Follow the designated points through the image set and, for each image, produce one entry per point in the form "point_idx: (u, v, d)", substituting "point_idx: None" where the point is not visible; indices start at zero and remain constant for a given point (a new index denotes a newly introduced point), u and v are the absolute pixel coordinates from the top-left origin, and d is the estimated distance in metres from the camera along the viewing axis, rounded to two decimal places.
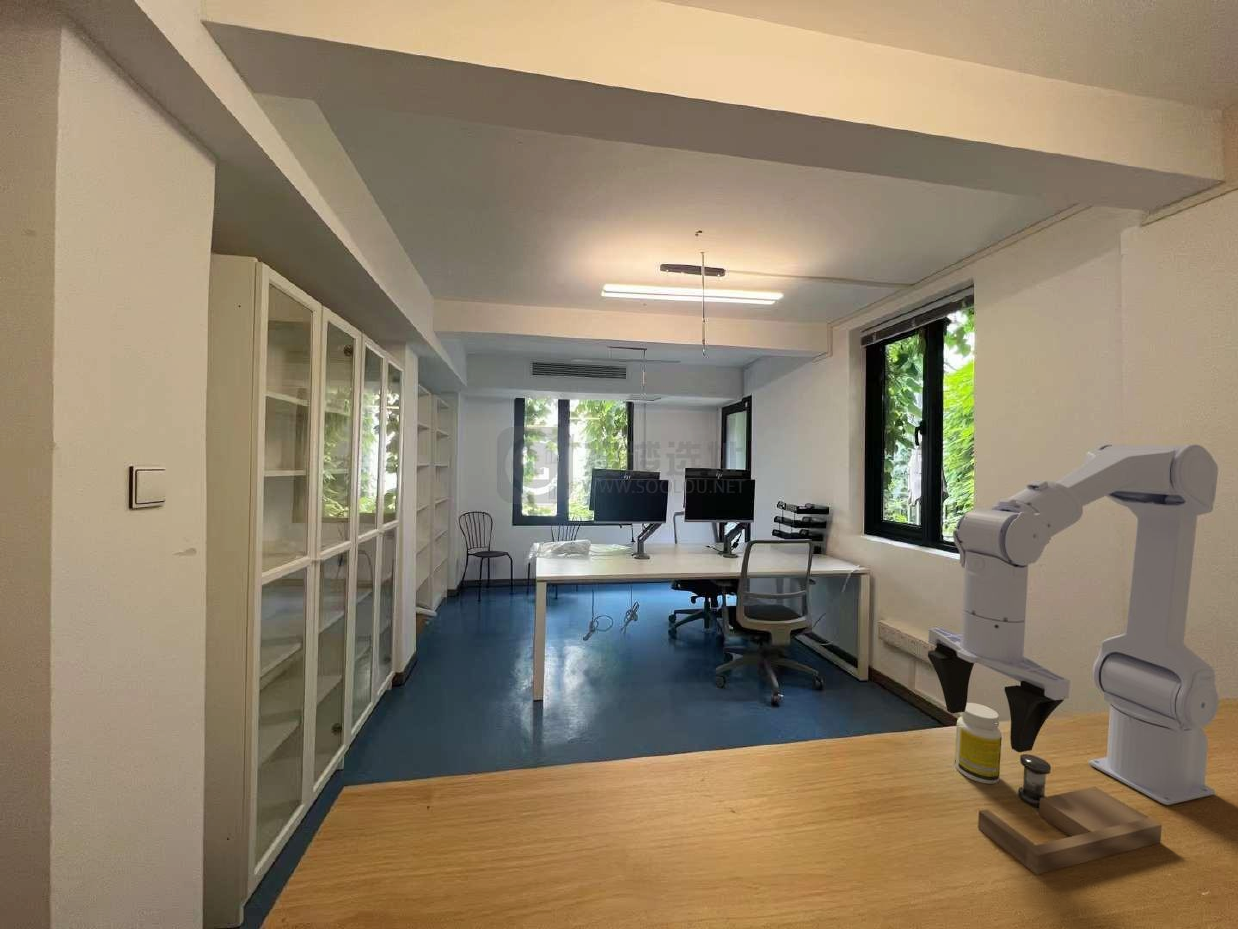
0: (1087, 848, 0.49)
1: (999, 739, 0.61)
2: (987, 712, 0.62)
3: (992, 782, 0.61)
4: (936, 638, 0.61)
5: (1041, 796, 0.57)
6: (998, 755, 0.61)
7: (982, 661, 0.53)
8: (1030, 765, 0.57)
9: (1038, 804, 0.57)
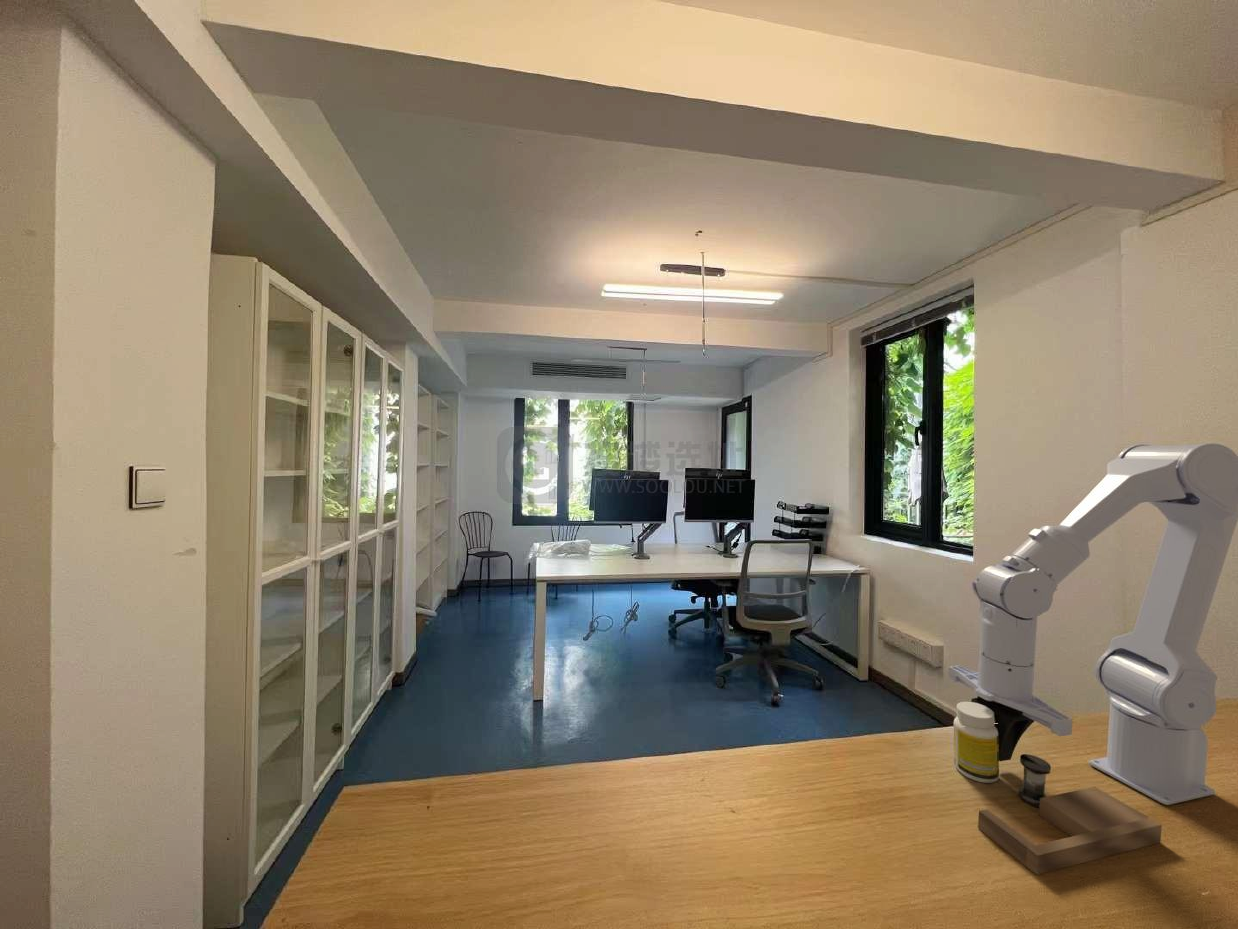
0: (1087, 848, 0.49)
1: (996, 738, 0.61)
2: (982, 711, 0.62)
3: (992, 781, 0.61)
4: (955, 675, 0.69)
5: (1041, 796, 0.57)
6: (996, 754, 0.61)
7: (997, 699, 0.62)
8: (1030, 765, 0.57)
9: (1038, 804, 0.57)
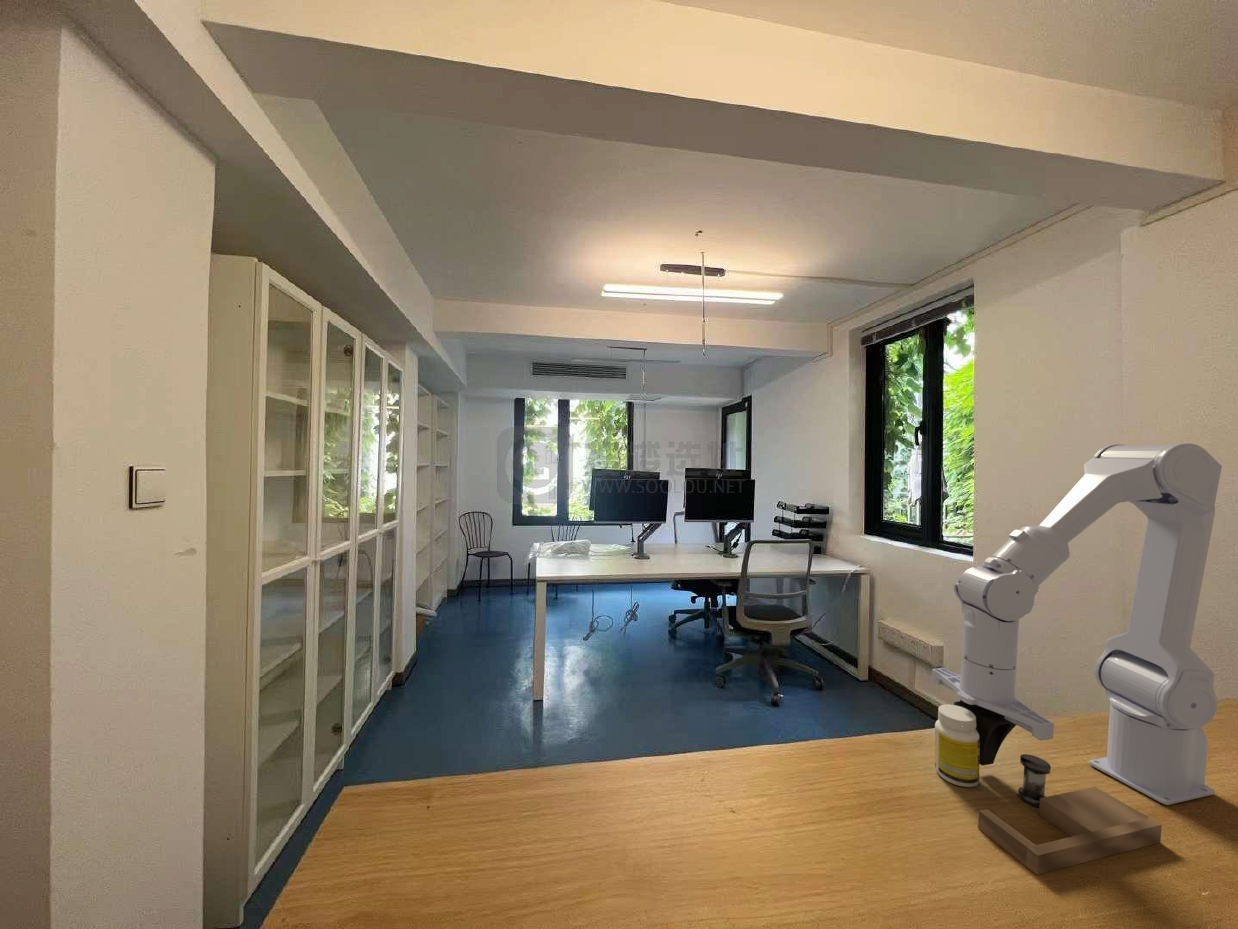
0: (1087, 848, 0.49)
1: (977, 741, 0.60)
2: (964, 714, 0.61)
3: (972, 785, 0.60)
4: (938, 678, 0.69)
5: (1041, 796, 0.57)
6: (977, 757, 0.60)
7: (978, 703, 0.61)
8: (1030, 765, 0.57)
9: (1038, 804, 0.57)
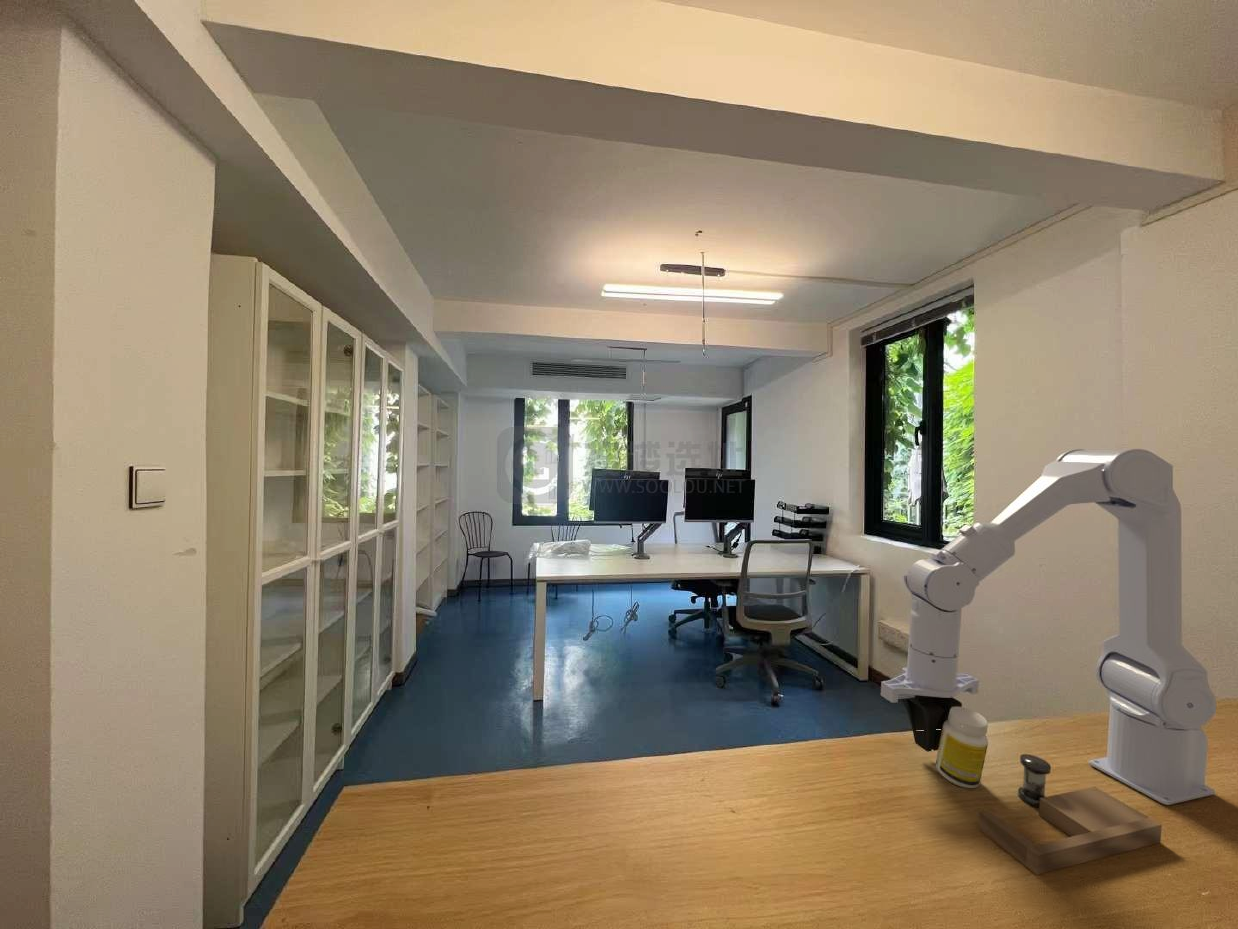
0: (1087, 848, 0.49)
1: (986, 747, 0.59)
2: (976, 719, 0.60)
3: (972, 787, 0.60)
4: None
5: (1041, 796, 0.57)
6: (982, 762, 0.59)
7: None
8: (1030, 765, 0.57)
9: (1038, 804, 0.57)
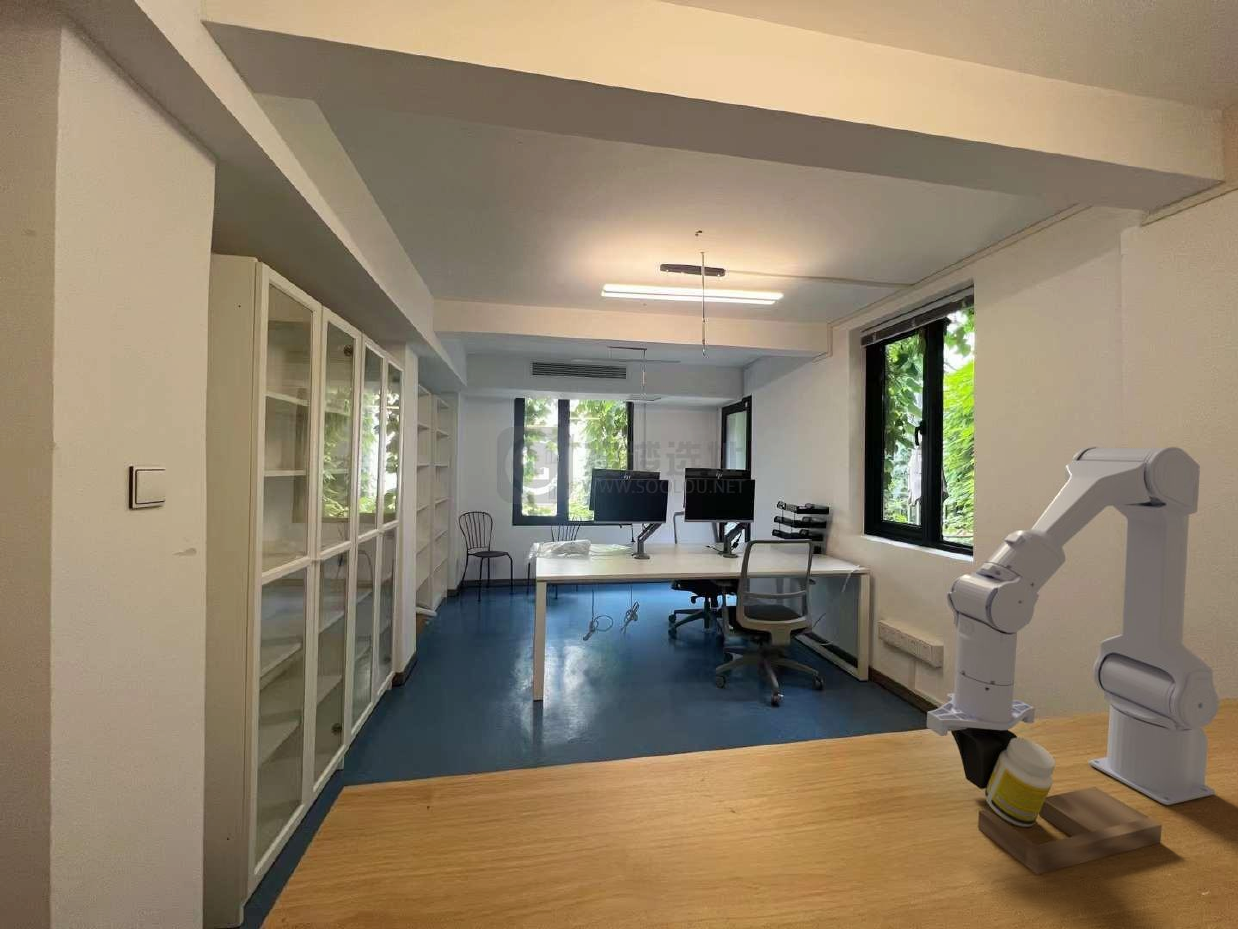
0: (1087, 848, 0.49)
1: (1050, 787, 0.52)
2: (1041, 756, 0.53)
3: (1028, 825, 0.54)
4: None
5: None
6: (1043, 801, 0.53)
7: None
8: None
9: None
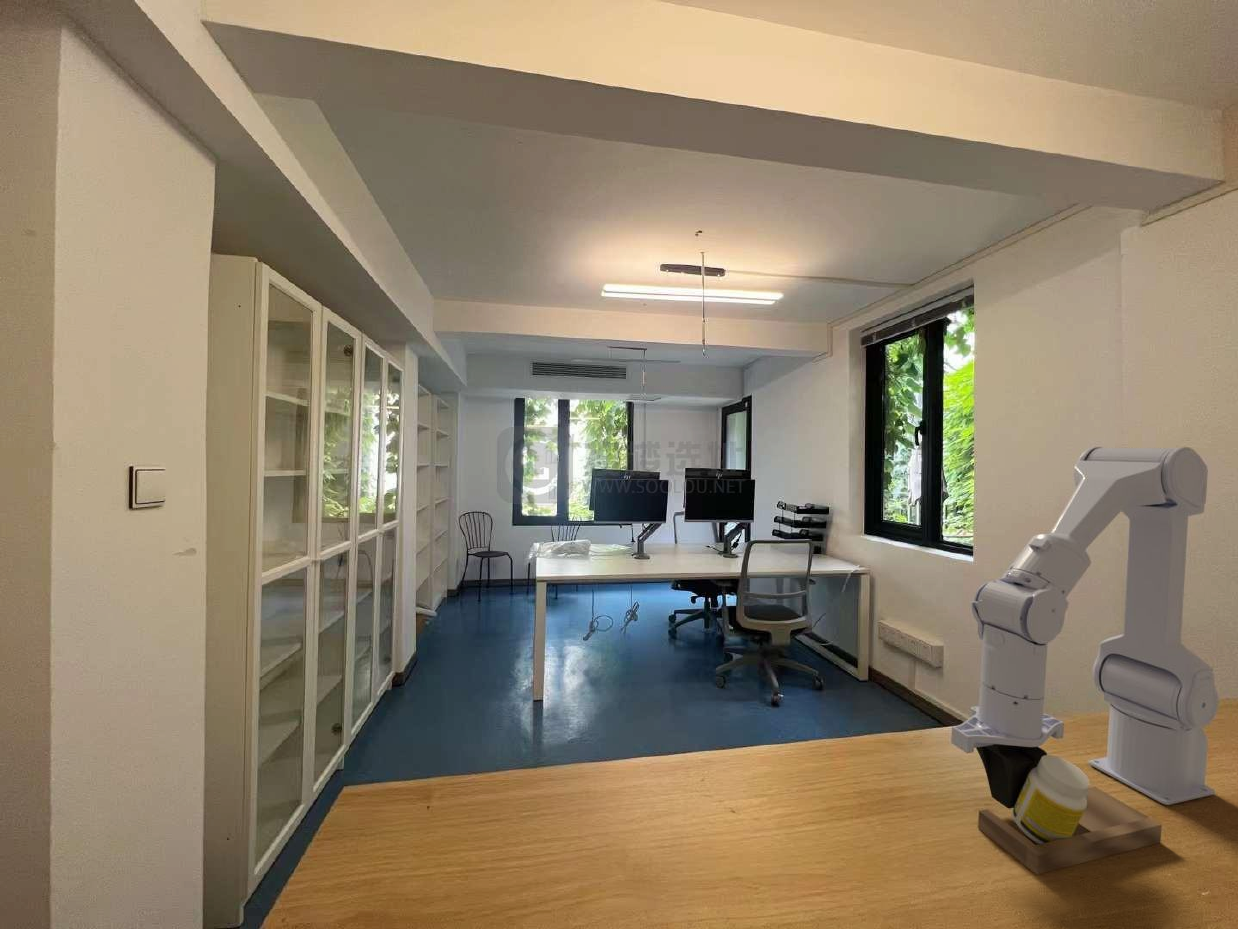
0: (1087, 848, 0.49)
1: None
2: (1075, 775, 0.50)
3: None
4: None
5: None
6: (1077, 823, 0.50)
7: None
8: None
9: None
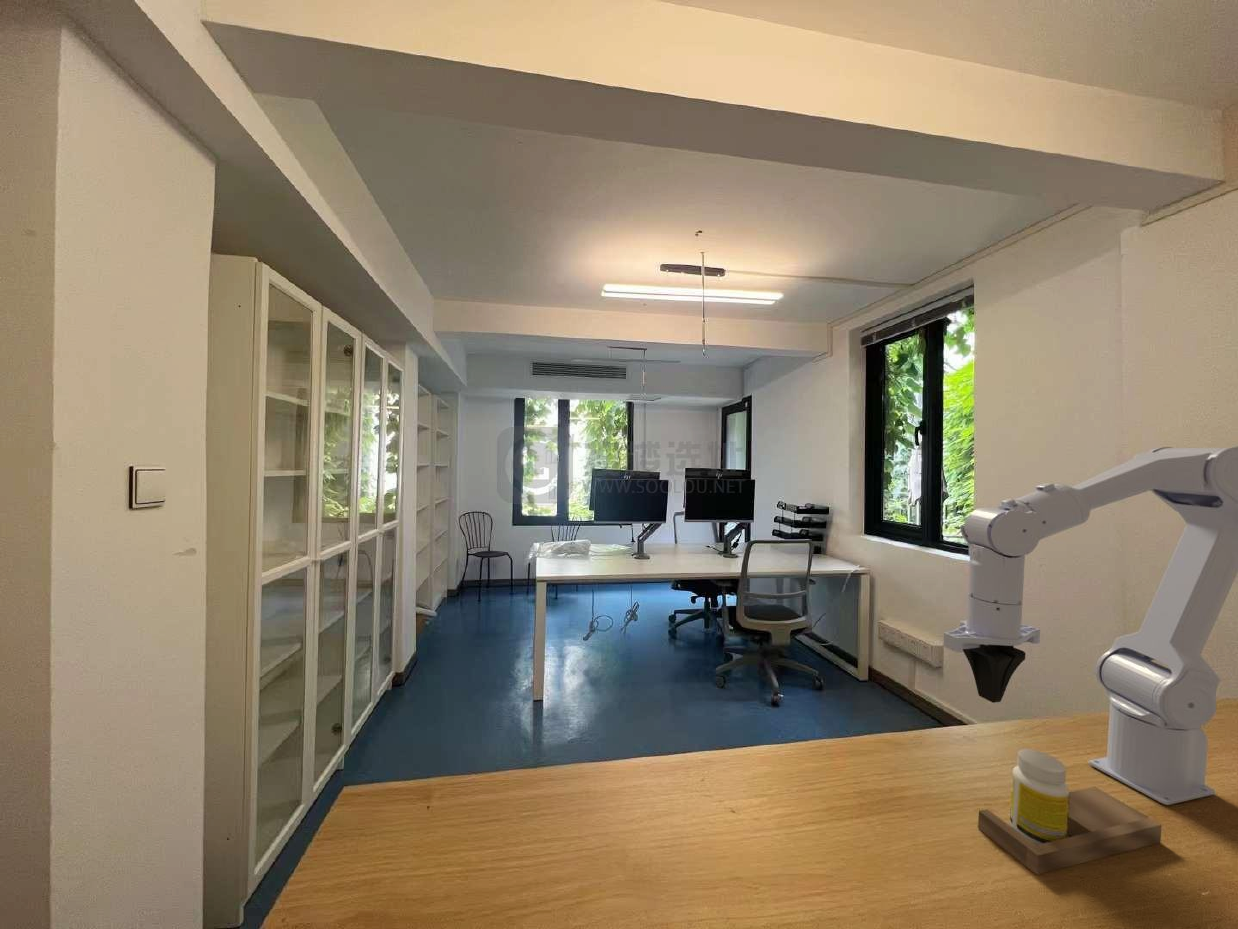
0: (1087, 848, 0.49)
1: (1068, 796, 0.51)
2: (1050, 762, 0.52)
3: None
4: None
5: None
6: (1066, 815, 0.51)
7: None
8: None
9: None
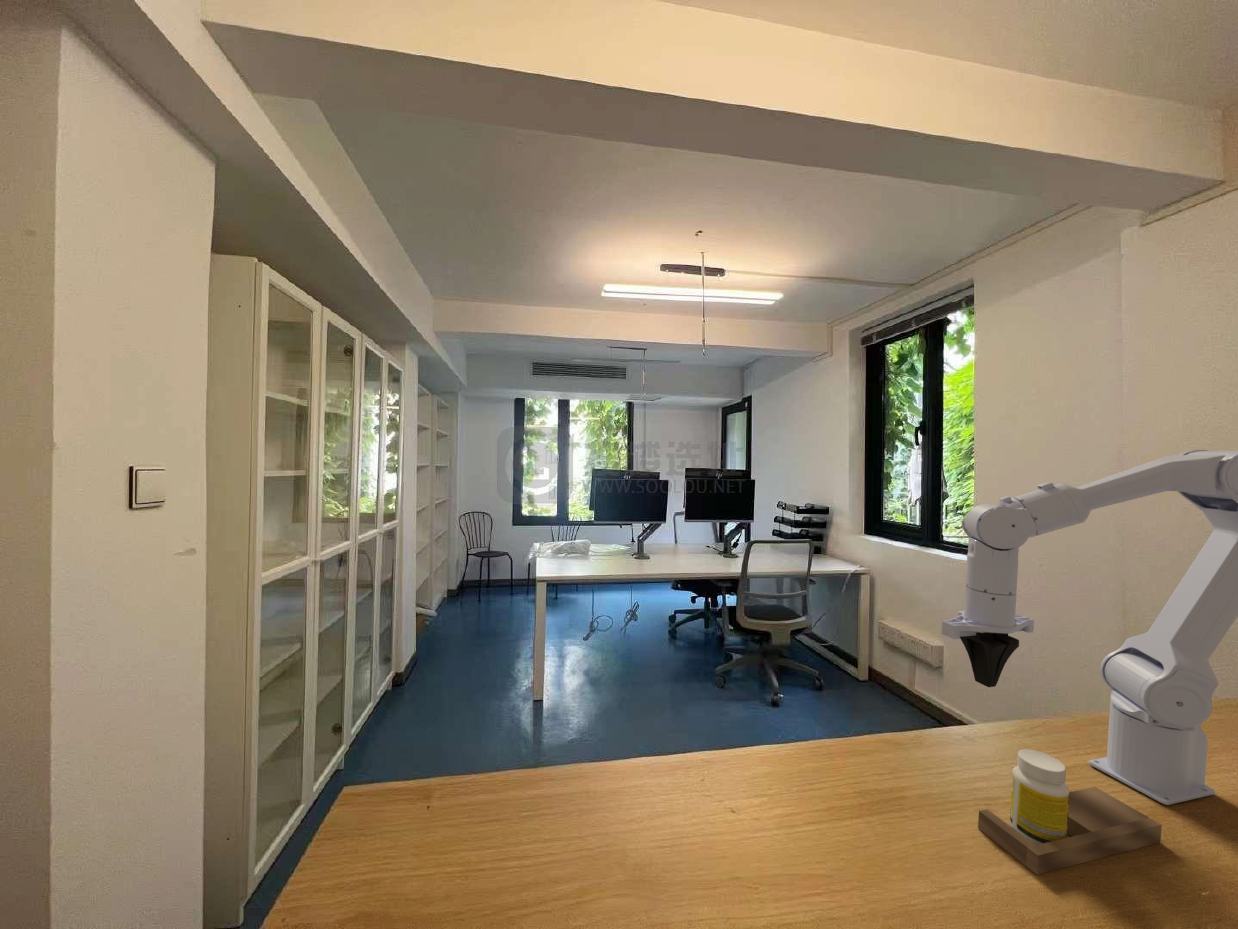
0: (1087, 848, 0.49)
1: (1068, 796, 0.51)
2: (1051, 762, 0.52)
3: None
4: None
5: None
6: (1066, 815, 0.51)
7: None
8: None
9: None
